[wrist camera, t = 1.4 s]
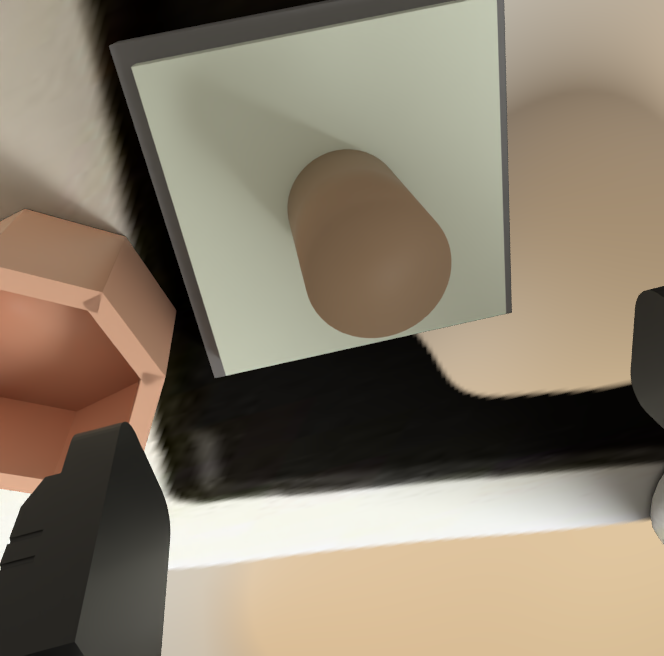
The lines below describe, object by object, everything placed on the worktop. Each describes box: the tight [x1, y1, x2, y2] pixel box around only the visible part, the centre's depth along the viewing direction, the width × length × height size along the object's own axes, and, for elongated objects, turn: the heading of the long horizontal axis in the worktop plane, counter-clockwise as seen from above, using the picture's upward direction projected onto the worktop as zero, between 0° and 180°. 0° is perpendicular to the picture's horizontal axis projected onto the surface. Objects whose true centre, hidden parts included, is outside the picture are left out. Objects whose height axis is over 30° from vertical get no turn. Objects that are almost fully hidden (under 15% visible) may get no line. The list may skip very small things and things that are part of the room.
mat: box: [109, 0, 512, 378], centre depth 18 cm, size 10×10×2 cm
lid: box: [131, 0, 506, 376], centre depth 16 cm, size 9×9×5 cm
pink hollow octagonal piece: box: [0, 209, 176, 493], centre depth 18 cm, size 7×7×4 cm
